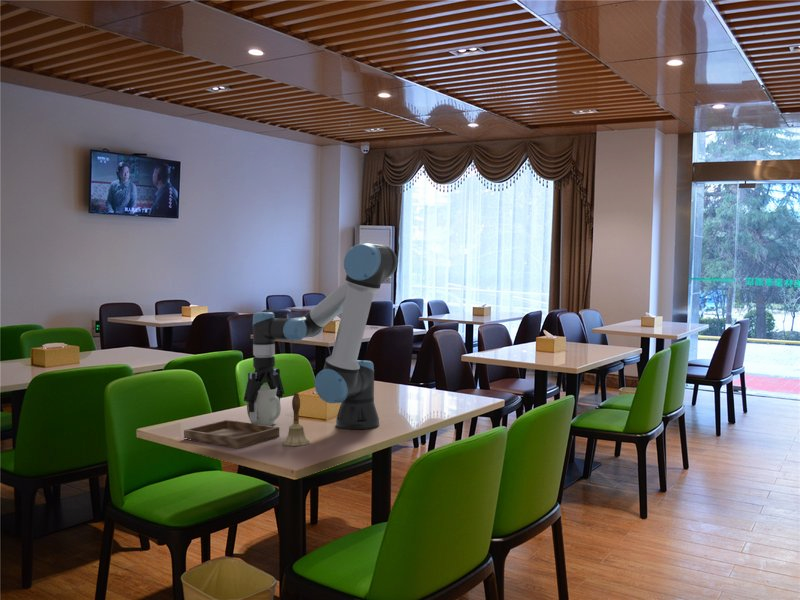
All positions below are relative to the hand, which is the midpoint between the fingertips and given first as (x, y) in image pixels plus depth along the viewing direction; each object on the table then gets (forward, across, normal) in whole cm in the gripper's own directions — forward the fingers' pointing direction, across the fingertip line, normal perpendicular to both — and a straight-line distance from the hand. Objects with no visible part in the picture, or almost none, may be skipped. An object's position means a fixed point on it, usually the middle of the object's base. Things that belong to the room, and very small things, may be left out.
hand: (264, 418), depth 260 cm
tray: (+2, +20, +4) cm, 21 cm away
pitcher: (+3, 0, 0) cm, 3 cm away
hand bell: (+3, +15, +27) cm, 31 cm away
